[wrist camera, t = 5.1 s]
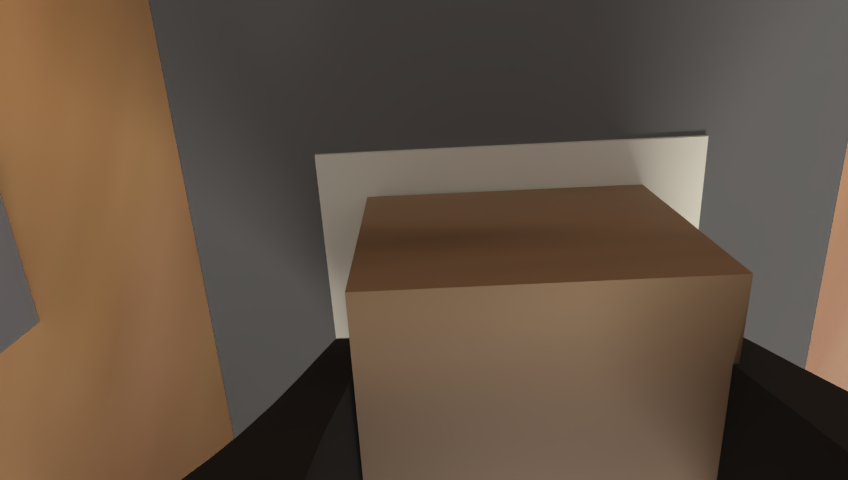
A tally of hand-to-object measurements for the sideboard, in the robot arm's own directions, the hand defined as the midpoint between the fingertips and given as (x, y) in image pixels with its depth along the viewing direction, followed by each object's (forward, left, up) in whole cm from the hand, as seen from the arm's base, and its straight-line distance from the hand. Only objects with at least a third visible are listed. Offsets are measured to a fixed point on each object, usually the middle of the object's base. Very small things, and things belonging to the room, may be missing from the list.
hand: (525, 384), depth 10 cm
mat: (0, 0, -3) cm, 3 cm away
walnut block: (0, 0, -2) cm, 2 cm away
